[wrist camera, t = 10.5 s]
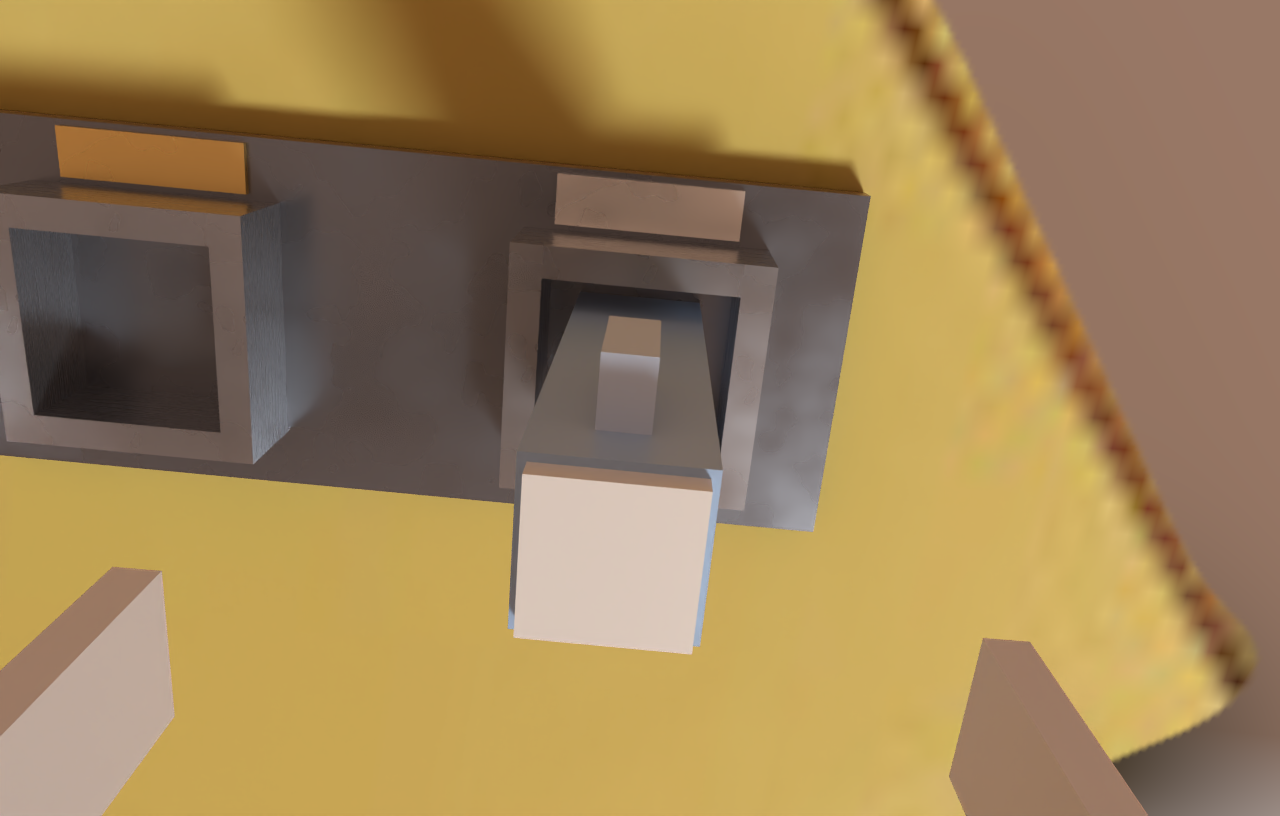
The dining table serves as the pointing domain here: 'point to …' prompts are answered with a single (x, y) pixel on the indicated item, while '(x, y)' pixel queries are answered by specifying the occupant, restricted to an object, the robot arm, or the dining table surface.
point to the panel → (390, 306)
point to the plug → (618, 482)
